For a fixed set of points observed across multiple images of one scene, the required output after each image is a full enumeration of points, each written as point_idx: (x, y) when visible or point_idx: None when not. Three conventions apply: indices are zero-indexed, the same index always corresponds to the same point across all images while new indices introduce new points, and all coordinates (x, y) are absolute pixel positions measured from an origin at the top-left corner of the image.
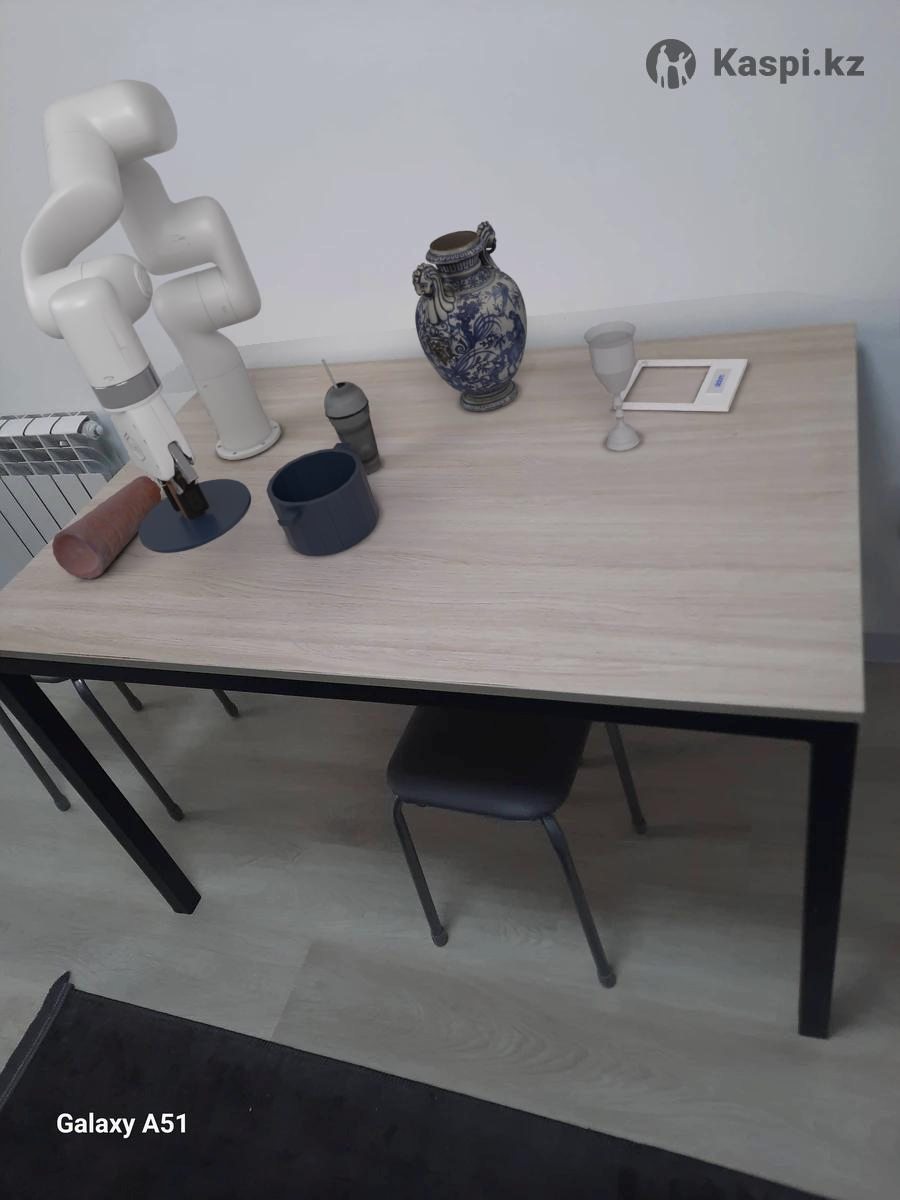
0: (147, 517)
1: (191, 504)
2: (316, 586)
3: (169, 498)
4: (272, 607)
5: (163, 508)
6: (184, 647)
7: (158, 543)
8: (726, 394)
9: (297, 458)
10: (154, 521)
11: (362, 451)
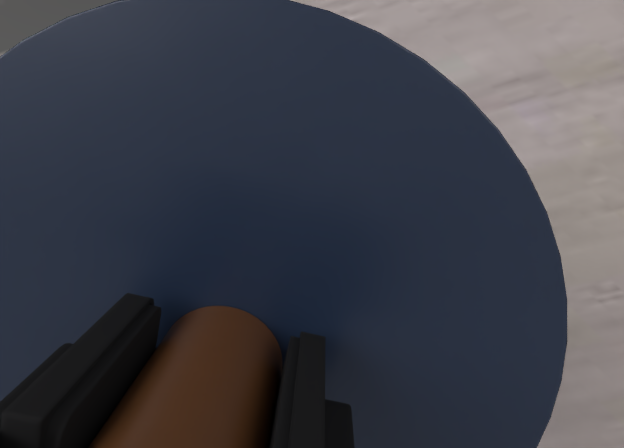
0: (530, 247)
1: (32, 379)
2: None
3: (292, 393)
4: None
5: (478, 344)
6: (306, 4)
7: (200, 48)
8: None
9: None
10: (437, 227)
11: None
